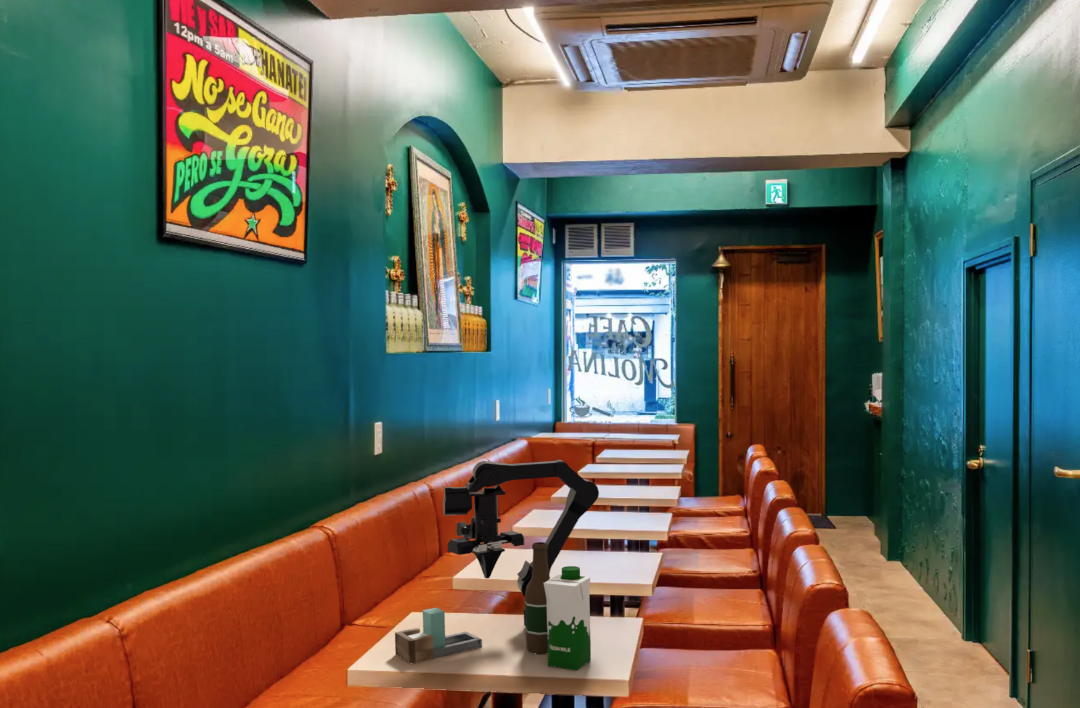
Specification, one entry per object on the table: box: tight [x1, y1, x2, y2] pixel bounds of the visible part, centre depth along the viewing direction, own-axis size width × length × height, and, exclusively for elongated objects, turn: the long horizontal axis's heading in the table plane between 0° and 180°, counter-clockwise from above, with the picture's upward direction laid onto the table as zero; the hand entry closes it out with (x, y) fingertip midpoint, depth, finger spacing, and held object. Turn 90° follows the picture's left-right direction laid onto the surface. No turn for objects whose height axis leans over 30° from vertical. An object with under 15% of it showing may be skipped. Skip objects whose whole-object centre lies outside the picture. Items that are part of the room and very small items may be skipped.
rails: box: [433, 631, 483, 659], centre depth 201 cm, size 12×7×2 cm, turn 124°
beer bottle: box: [524, 541, 551, 655], centre depth 199 cm, size 8×8×24 cm
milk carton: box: [544, 565, 592, 671], centre depth 189 cm, size 9×9×20 cm
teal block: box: [409, 607, 446, 648], centre depth 198 cm, size 8×4×9 cm, turn 124°
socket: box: [394, 627, 435, 664], centre depth 196 cm, size 6×8×5 cm
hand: (487, 578), depth 213 cm, fingers closed
